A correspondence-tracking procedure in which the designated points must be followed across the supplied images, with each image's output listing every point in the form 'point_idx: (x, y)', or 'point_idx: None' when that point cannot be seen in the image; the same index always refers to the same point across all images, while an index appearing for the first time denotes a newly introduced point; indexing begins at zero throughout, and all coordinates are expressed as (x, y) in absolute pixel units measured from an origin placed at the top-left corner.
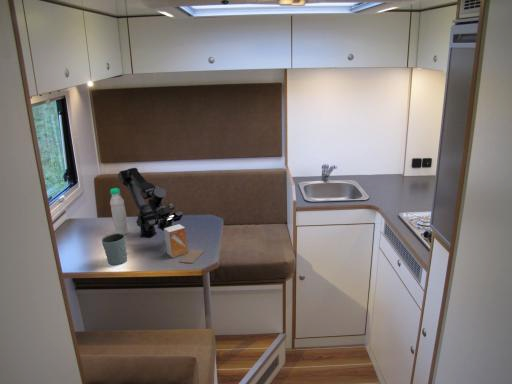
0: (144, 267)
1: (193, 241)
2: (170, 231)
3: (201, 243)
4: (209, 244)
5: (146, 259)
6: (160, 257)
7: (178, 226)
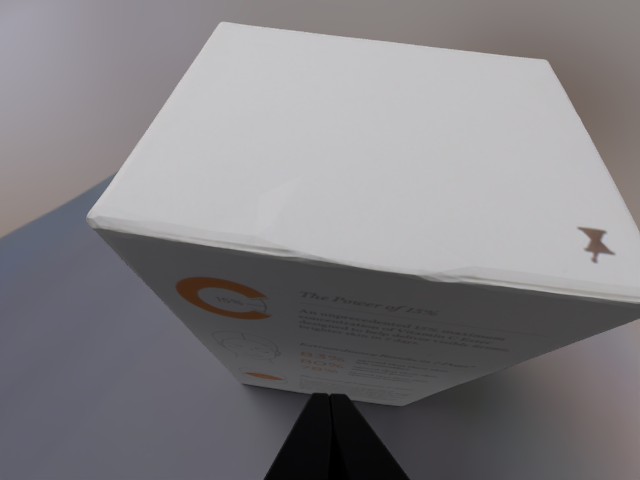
0: (637, 322)
1: (20, 463)
2: (517, 62)
3: (48, 336)
4: (46, 263)
5: (621, 466)
6: (482, 385)
7: (261, 105)
